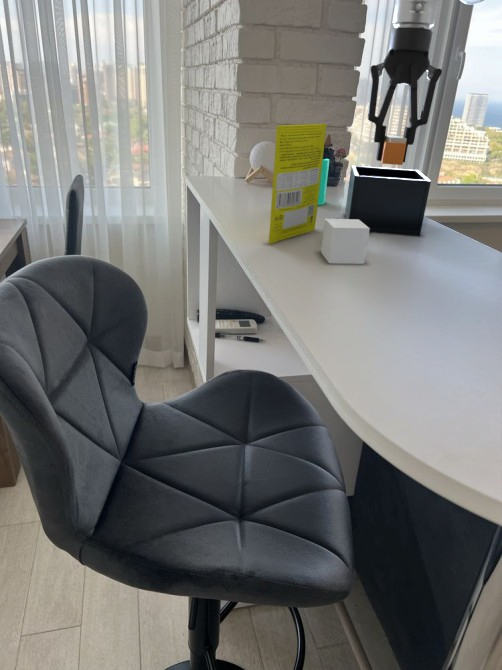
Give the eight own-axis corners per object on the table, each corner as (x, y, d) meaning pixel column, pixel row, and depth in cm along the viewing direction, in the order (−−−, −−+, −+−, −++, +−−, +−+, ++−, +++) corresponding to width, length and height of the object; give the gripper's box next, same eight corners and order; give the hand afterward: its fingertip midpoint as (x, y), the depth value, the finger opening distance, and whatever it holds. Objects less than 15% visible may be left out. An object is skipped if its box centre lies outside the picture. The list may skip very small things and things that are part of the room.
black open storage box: (409, 219, 115) (418, 170, 110) (420, 236, 102) (431, 181, 97) (344, 214, 117) (351, 165, 112) (347, 230, 104) (354, 175, 99)
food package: (312, 229, 103) (323, 123, 94) (317, 230, 102) (329, 124, 93) (266, 243, 92) (274, 125, 83) (271, 245, 91) (279, 125, 82)
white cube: (320, 252, 89) (324, 218, 86) (353, 253, 89) (358, 219, 87) (329, 263, 83) (333, 227, 81) (364, 263, 84) (369, 228, 81)
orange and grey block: (398, 160, 107) (402, 135, 104) (402, 165, 100) (407, 138, 98) (378, 159, 107) (382, 134, 105) (381, 163, 101) (385, 137, 99)
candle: (328, 204, 125) (334, 153, 120) (307, 205, 123) (312, 153, 118) (317, 199, 130) (322, 150, 125) (296, 200, 128) (301, 150, 123)
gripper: (366, 23, 91) (348, 160, 101) (465, 28, 89) (436, 166, 99) (364, 28, 97) (347, 155, 108) (455, 32, 96) (429, 161, 106)
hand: (390, 160), depth 104 cm, fingers closed on orange and grey block, 4 cm apart
